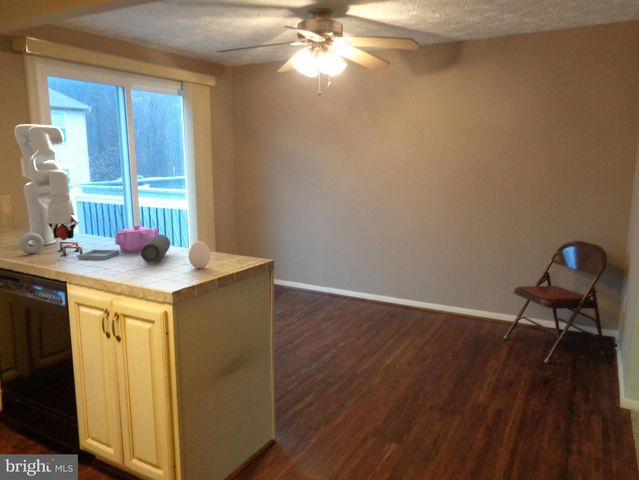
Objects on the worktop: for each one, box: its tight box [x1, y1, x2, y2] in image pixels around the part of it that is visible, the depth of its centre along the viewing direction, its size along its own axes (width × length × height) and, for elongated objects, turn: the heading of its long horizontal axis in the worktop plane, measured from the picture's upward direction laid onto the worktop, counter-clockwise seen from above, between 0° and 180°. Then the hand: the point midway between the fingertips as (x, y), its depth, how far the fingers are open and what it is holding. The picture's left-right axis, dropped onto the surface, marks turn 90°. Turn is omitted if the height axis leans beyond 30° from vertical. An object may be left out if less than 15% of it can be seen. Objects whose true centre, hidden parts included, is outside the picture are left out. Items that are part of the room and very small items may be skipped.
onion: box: [56, 224, 68, 241], centre depth 210 cm, size 6×6×8 cm
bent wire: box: [57, 241, 84, 258], centre depth 216 cm, size 13×19×4 cm
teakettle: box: [114, 224, 160, 254], centre depth 225 cm, size 17×17×12 cm
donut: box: [18, 232, 44, 255], centre depth 214 cm, size 10×4×10 cm, turn 139°
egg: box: [188, 240, 211, 269], centre depth 190 cm, size 9×9×12 cm
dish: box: [77, 249, 120, 261], centre depth 211 cm, size 12×12×2 cm
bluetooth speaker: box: [140, 234, 171, 264], centre depth 205 cm, size 23×9×10 cm, turn 8°
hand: (63, 237), depth 211 cm, fingers closed on onion, 5 cm apart
